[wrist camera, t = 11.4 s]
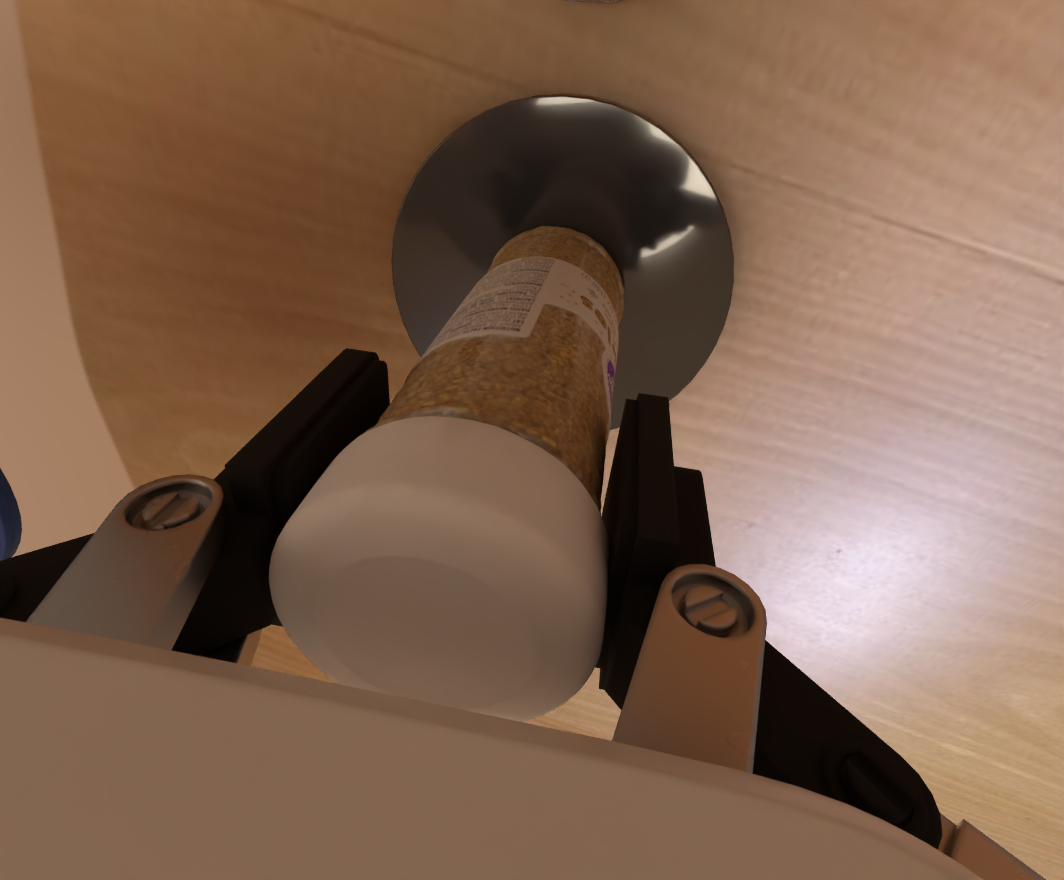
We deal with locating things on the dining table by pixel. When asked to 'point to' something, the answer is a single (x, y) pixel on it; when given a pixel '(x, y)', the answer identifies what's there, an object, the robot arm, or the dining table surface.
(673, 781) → the robot arm
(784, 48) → the dining table surface
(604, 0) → the can
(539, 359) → the sprinkles bottle
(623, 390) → the coaster
